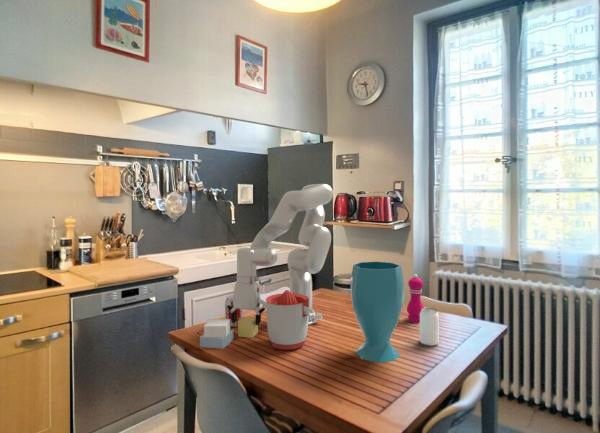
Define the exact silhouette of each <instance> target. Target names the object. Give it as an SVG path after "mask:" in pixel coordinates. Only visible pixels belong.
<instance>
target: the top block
mask: <svg viewBox="0 0 600 433" xmlns="http://www.w3.org/2000/svg"><path fill="white" fill-rule="evenodd" d="M230 330H231V327H230V319H226V318H218V319H217V318H214V319H213V318H210V319H208V320H207V322H206V323H205V324H204V326H203V334H204V337H227V335H228V333H229V331H230Z"/></svg>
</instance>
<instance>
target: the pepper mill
mask: <svg viewBox="0 0 600 433" xmlns="http://www.w3.org/2000/svg"><path fill="white" fill-rule="evenodd" d="M412 276H413V277H412V278H410V279H409V280H408V283H407V284H408V285H407V286H408V287H409V291H408V292H409V293H410V299H409V302H408V304H407V307H406V312H407V313H408V316H407V320H408V321H409V322H411V323H420V312H421V309H422V308H425V307H424V305H423V302H422V299H421V295H422V292H423V290H422V288H423V286H424V282H423V280H422V279H421V278H420V277H419V276H418V274H416V273H415V274H413V275H412Z"/></svg>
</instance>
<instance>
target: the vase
mask: <svg viewBox="0 0 600 433" xmlns="http://www.w3.org/2000/svg"><path fill="white" fill-rule="evenodd" d="M351 270H352V272H351V276H350V296H351V303H352V308H353V313H354V315H355V319H356V321H357V323H358V326H359V328H360V330H361V331H362V334H363V336H364V342H363V343H362V345H361V346H360V347H358V349H356V350H355V352H354V353H355V354H356V355H357V356H359V358H360V359H361V360H363V361H364V360H366V361H370V362H375V363H379V364H380V363H381V364H382V363H386V362H395V361H397V359H398V358H399V357H400V355H401V353H400V352H398V350H397V349H396V348H395V347H394V346H393V345H392V344H391V338H392V336H393V334H394V332H395V330H396V328H397V325H398V323H399V320H400V318H401V314H402V311H403V306H404V300H405V282H404V273H403V269H402V265H401V264H396V263H394V262H386V261H385V262H384V261H361V262H358V263H356V264H353V266H352V269H351Z"/></svg>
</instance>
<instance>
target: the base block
mask: <svg viewBox="0 0 600 433" xmlns="http://www.w3.org/2000/svg"><path fill="white" fill-rule="evenodd" d="M233 340H234V330H233V329H230V331H229V333H228V335H227V337H204V333H203V334H202V335H200V336H199V347H200V348H206V349H207V348H208V349H221V350H223V349H225V348H226V347H227V346H228V345H229V344H230V343H231V342H233Z"/></svg>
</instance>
